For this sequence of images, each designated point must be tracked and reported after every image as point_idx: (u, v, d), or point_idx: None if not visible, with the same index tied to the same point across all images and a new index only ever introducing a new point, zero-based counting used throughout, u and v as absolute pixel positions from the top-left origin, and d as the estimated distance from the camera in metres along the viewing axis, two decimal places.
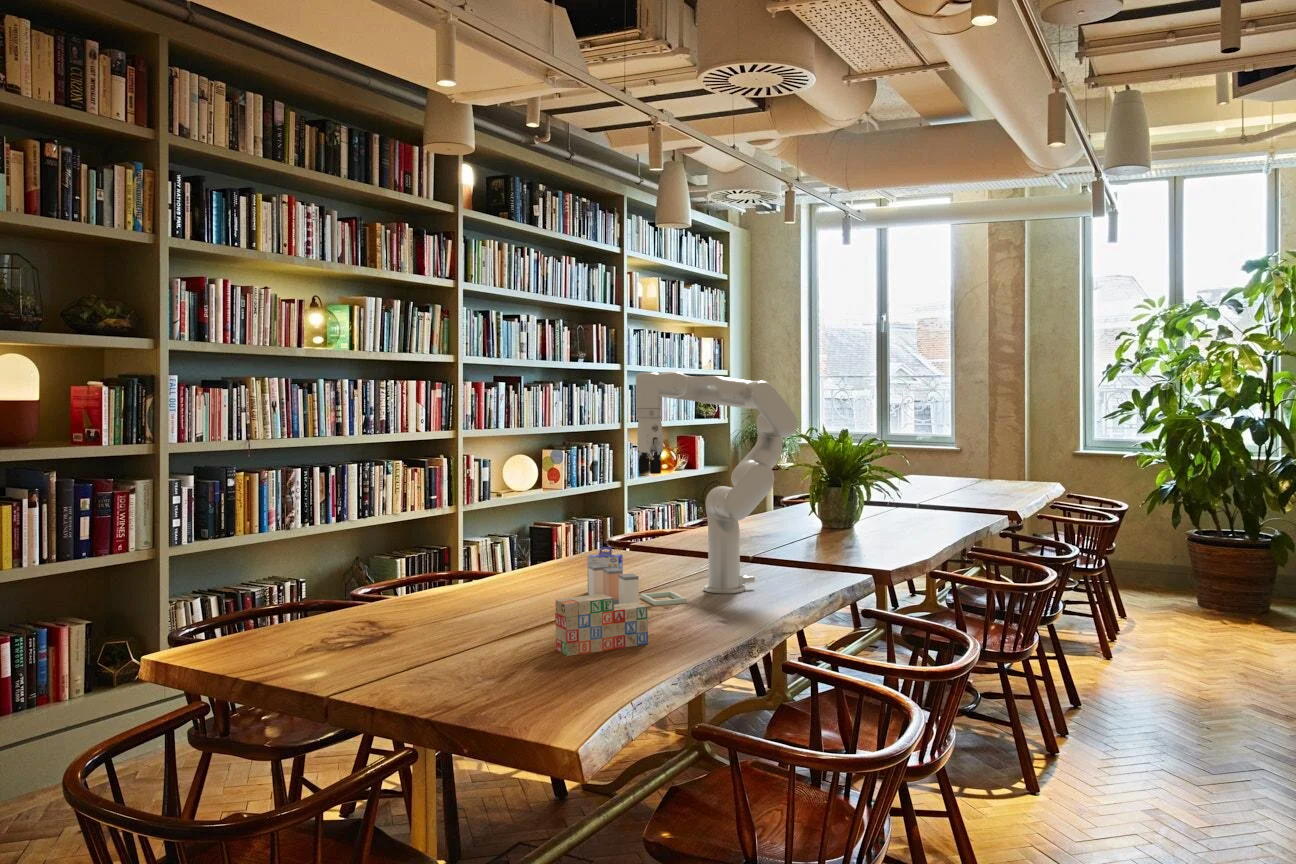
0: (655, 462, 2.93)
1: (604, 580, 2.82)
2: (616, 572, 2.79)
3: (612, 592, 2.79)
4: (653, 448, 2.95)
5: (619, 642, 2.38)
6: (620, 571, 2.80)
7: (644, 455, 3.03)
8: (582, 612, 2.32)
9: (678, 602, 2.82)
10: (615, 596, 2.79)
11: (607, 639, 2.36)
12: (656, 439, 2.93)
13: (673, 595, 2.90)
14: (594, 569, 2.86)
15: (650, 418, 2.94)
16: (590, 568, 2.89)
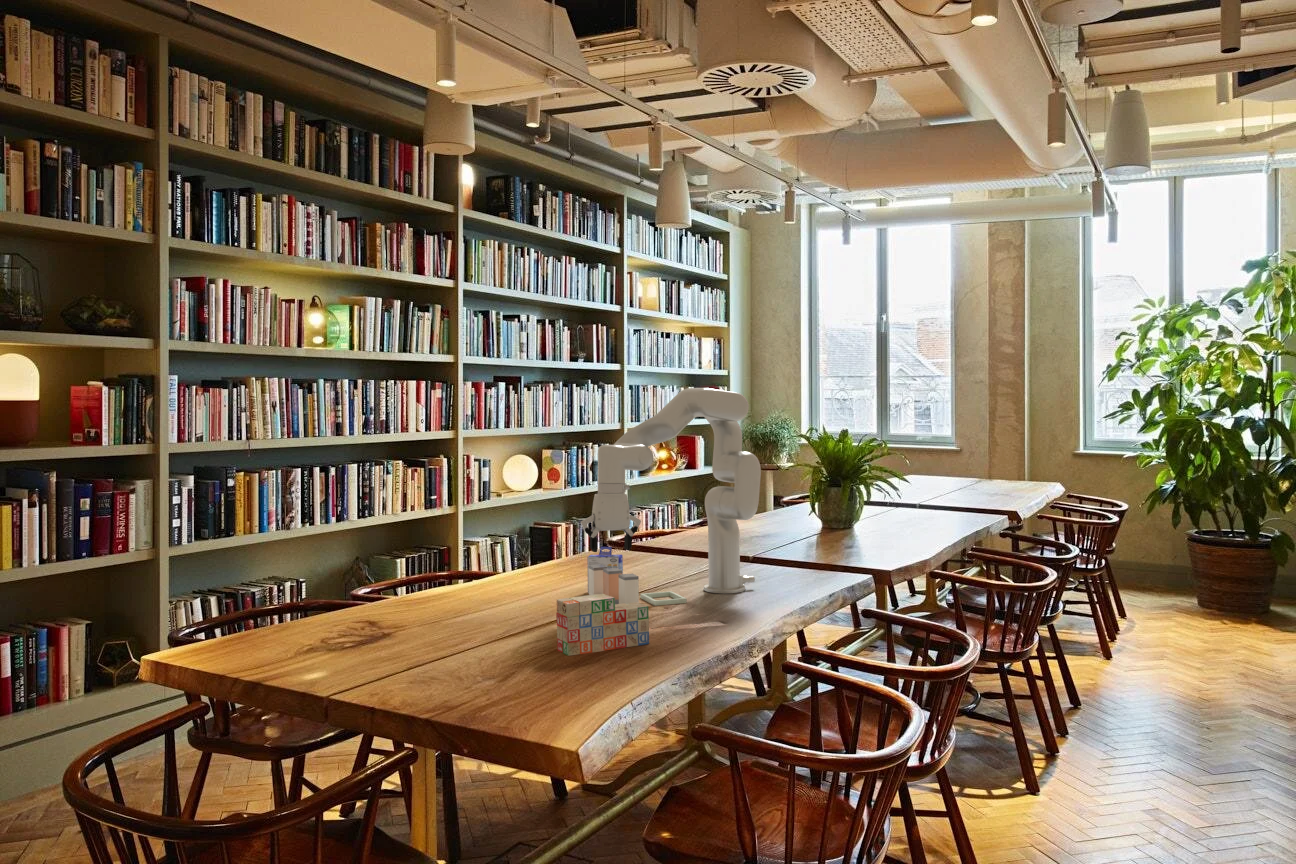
0: None
1: (604, 580, 2.82)
2: (616, 572, 2.79)
3: (612, 592, 2.79)
4: None
5: (620, 642, 2.38)
6: (620, 571, 2.80)
7: None
8: (583, 612, 2.33)
9: (678, 602, 2.82)
10: (615, 596, 2.79)
11: (608, 639, 2.36)
12: None
13: (673, 595, 2.90)
14: (594, 569, 2.86)
15: (624, 493, 2.81)
16: (590, 568, 2.89)
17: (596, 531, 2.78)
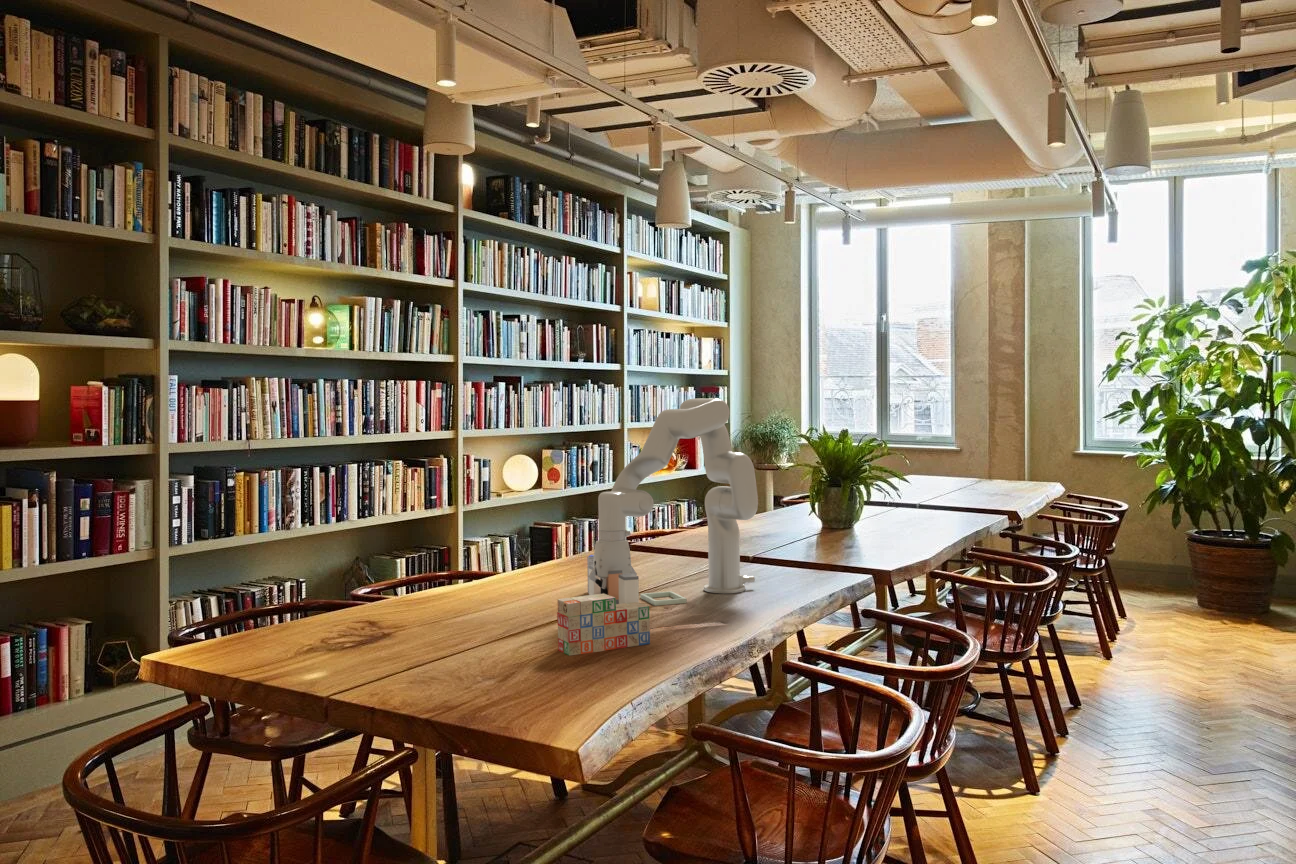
0: None
1: None
2: (616, 572, 2.79)
3: (612, 592, 2.79)
4: None
5: (621, 642, 2.38)
6: (620, 571, 2.80)
7: None
8: (584, 611, 2.33)
9: (678, 602, 2.82)
10: (615, 596, 2.79)
11: (609, 639, 2.36)
12: None
13: (673, 595, 2.90)
14: None
15: (625, 539, 2.81)
16: (590, 568, 2.89)
17: (604, 581, 2.79)
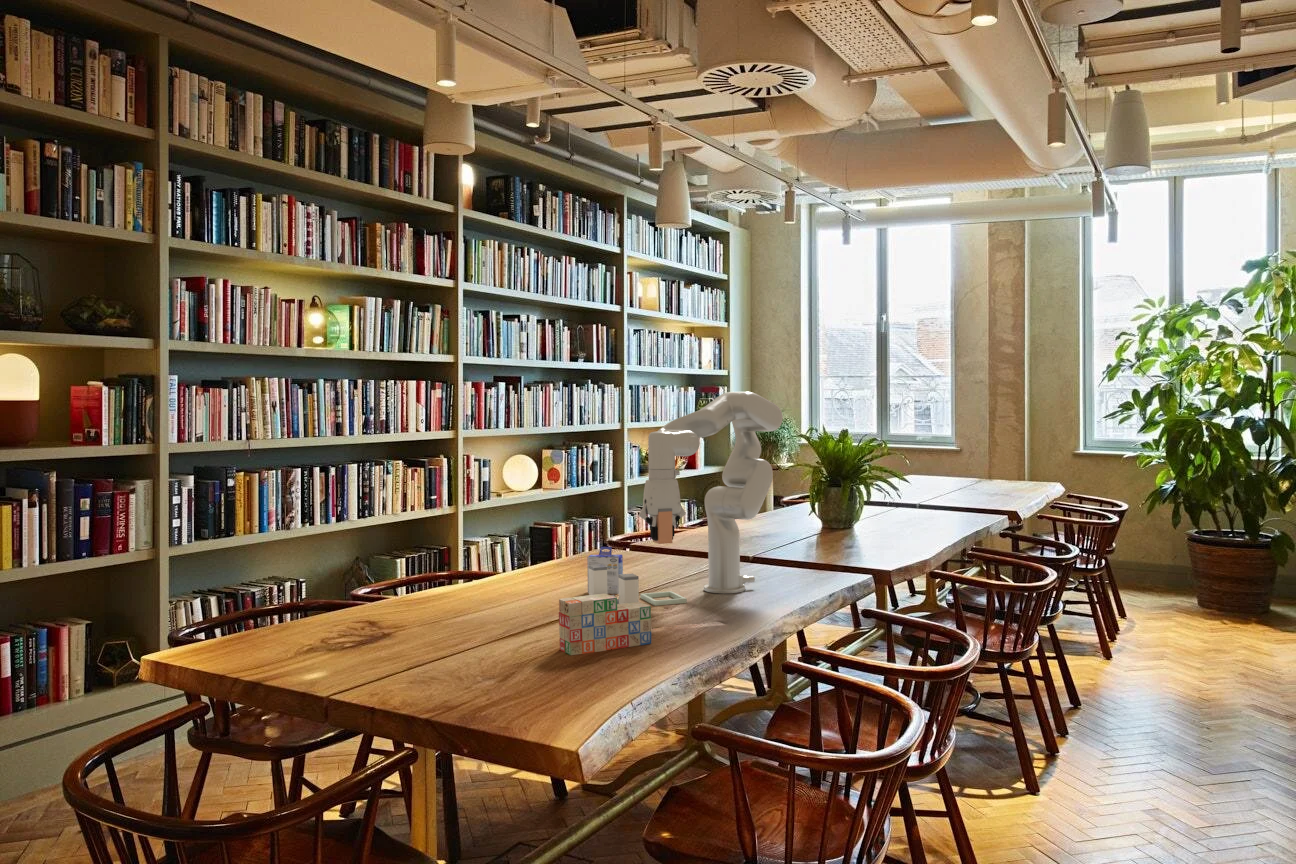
0: None
1: None
2: (666, 510, 2.84)
3: (662, 529, 2.83)
4: None
5: (622, 642, 2.38)
6: (670, 509, 2.84)
7: None
8: (585, 611, 2.33)
9: (678, 602, 2.82)
10: (665, 533, 2.84)
11: (610, 638, 2.36)
12: None
13: (673, 595, 2.90)
14: (594, 569, 2.86)
15: None
16: (590, 568, 2.89)
17: (654, 519, 2.84)
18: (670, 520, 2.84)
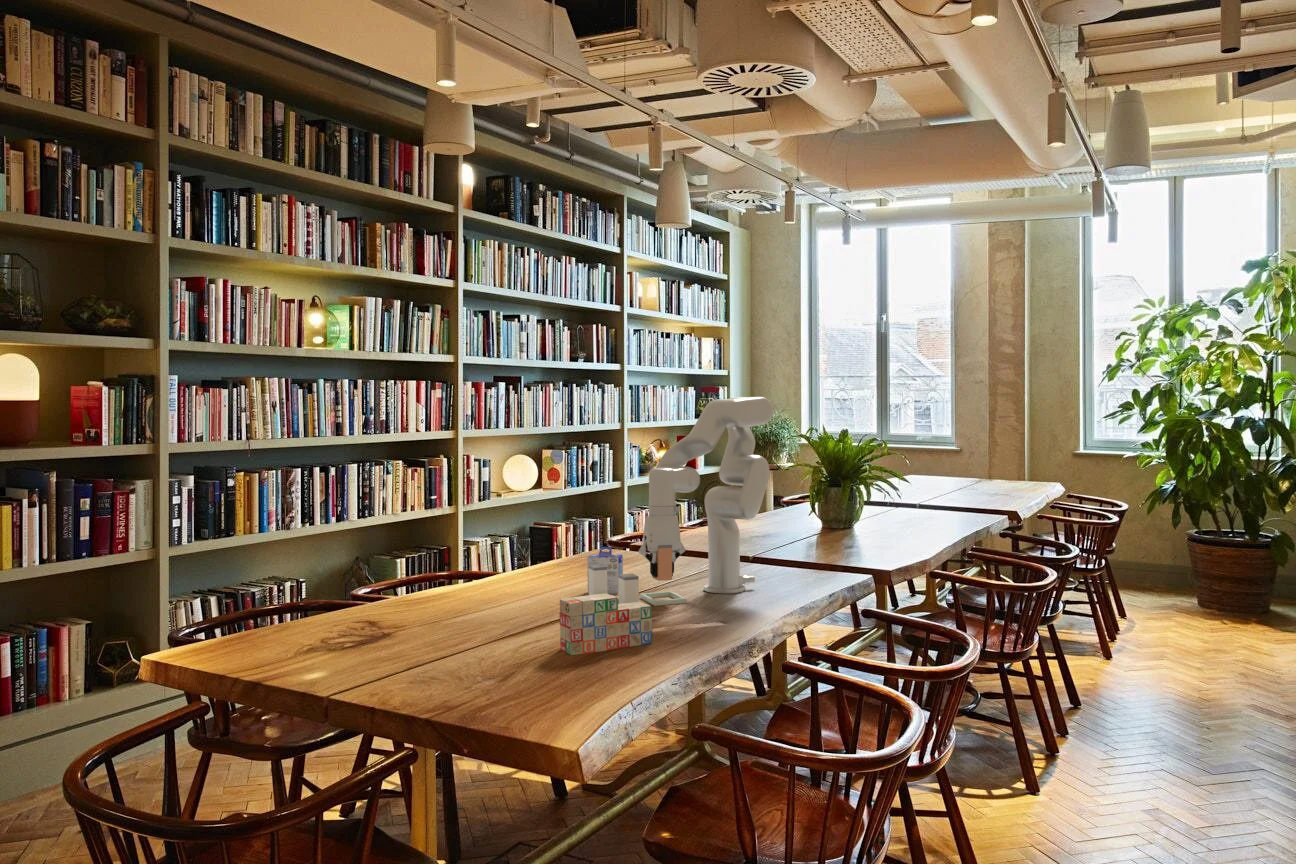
0: None
1: None
2: (666, 547, 2.84)
3: (661, 566, 2.84)
4: None
5: (623, 642, 2.38)
6: (670, 546, 2.84)
7: None
8: (586, 611, 2.33)
9: (678, 602, 2.82)
10: (664, 570, 2.84)
11: (611, 638, 2.36)
12: None
13: (673, 595, 2.90)
14: (594, 569, 2.86)
15: None
16: (590, 568, 2.89)
17: (654, 556, 2.84)
18: (670, 557, 2.84)
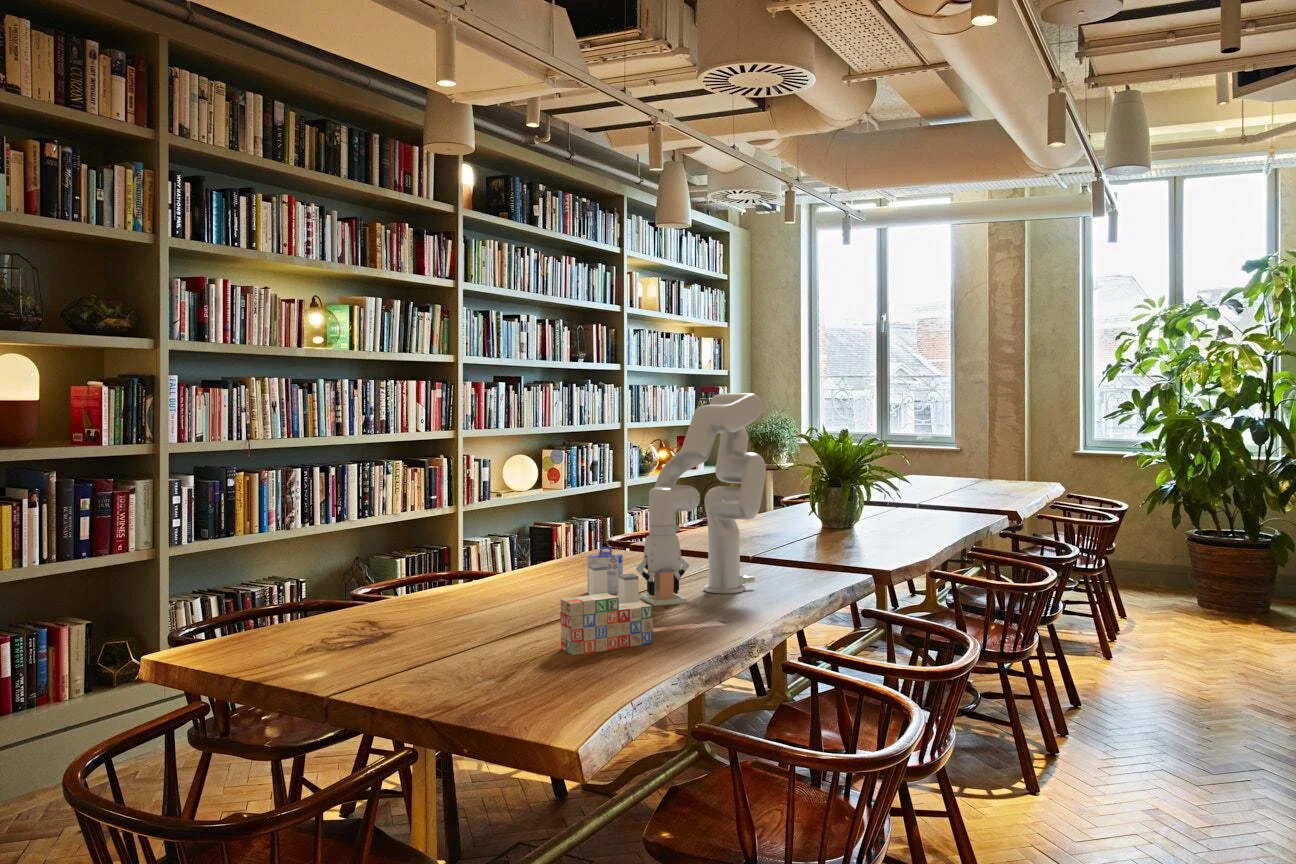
0: None
1: (655, 578, 2.87)
2: (667, 571, 2.84)
3: (663, 590, 2.84)
4: None
5: (623, 642, 2.38)
6: (671, 570, 2.85)
7: None
8: (586, 611, 2.33)
9: (678, 602, 2.82)
10: (666, 594, 2.84)
11: (612, 638, 2.36)
12: None
13: None
14: (594, 569, 2.86)
15: (675, 534, 2.87)
16: (590, 568, 2.89)
17: (652, 574, 2.84)
18: (671, 581, 2.85)
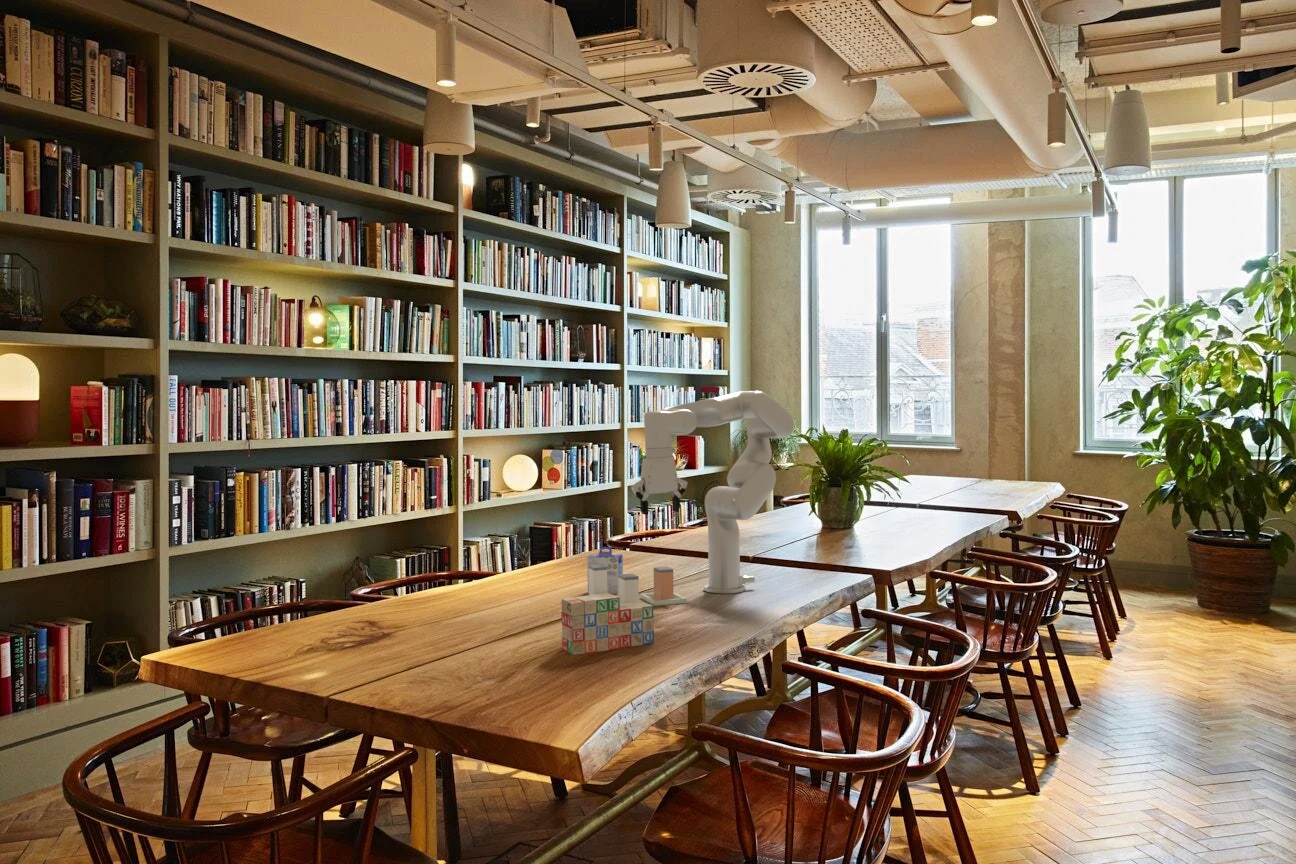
0: None
1: (655, 579, 2.87)
2: (667, 571, 2.84)
3: (663, 590, 2.84)
4: None
5: (625, 641, 2.38)
6: (671, 570, 2.85)
7: None
8: (587, 611, 2.33)
9: (678, 602, 2.82)
10: (666, 594, 2.84)
11: (613, 638, 2.37)
12: None
13: (673, 595, 2.90)
14: (594, 569, 2.86)
15: None
16: (590, 568, 2.89)
17: (646, 494, 2.88)
18: (671, 581, 2.85)
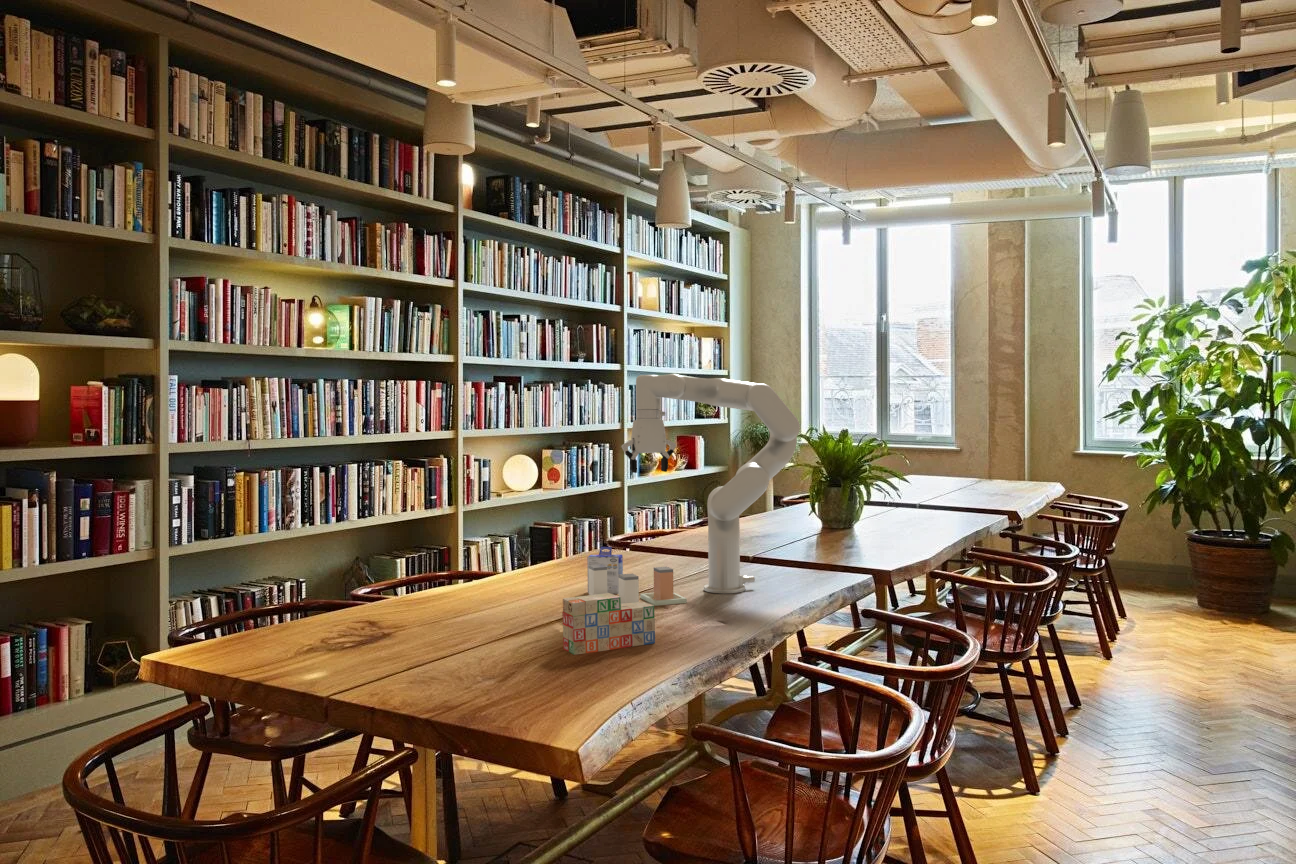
0: None
1: (655, 579, 2.87)
2: (667, 571, 2.84)
3: (663, 590, 2.84)
4: None
5: (626, 641, 2.38)
6: (671, 570, 2.85)
7: None
8: (588, 611, 2.33)
9: (678, 602, 2.82)
10: (666, 594, 2.84)
11: (614, 638, 2.37)
12: None
13: (673, 595, 2.90)
14: (594, 569, 2.86)
15: None
16: (590, 568, 2.89)
17: (636, 453, 3.04)
18: (671, 581, 2.85)
